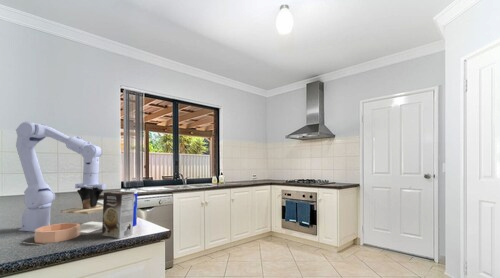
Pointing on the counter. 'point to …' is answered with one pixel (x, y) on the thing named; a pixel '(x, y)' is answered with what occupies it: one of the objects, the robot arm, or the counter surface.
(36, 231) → the bowl
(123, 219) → the coffee box
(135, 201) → the beverage can
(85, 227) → the mat
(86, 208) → the lid
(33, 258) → the counter surface
